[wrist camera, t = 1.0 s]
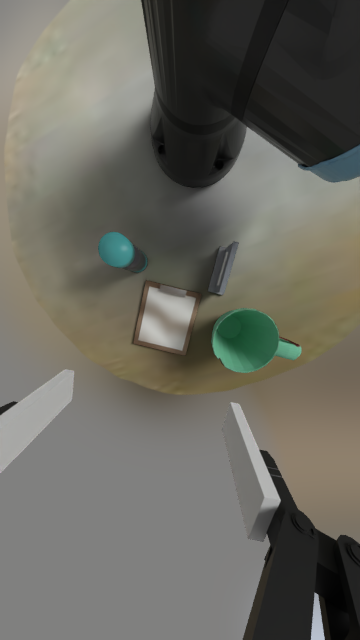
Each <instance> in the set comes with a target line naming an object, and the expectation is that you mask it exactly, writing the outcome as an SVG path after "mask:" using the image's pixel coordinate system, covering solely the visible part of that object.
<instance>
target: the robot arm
mask: <svg viewBox="0 0 360 640" xmlns="http://www.w3.org/2000/svg"><path fill="white" fill-rule="evenodd" d="M141 2H142V8H143V15H144V21H145V27H146V33H147V40H148V46H149V52H150V58H151V65H152V71H153V77H154V84H155V91H154V98H153V105H152V112H151V120H150V129H151V139H152V143H153V148H154V152H155V155H156V158H157V160H158V163H159V164H160V166H161V168H162V169H163V171H164V172H165V173H166V174H167V175H168V176H169V177H170V178H171V179H173V180H174V181H176V182H177V183H179V184H181V185H184V186H188V187H204V186H208V185H211V184H213V183H215V182H217V181H218V180H220V179H221V178H223V177H224V176H225V175H226V174H227V173H228V172H229V171H230V169H231V168H232V167H233V165H234V163H235V162H236V160H237V158H238V155H239V153H240V150H241V148H242V145H243V142H244V139H245V134H246V128H247V127H248V128H250V129H251V130H253V131H254V132H255V133H257V134H258V135H260V136H261V137H262V138H264V139H265V140H266V141H268V142H269V143H271V144H272V145H273V146H275V147H276V148H277V149H279V150H280V151H282V152H283V153H284V154H286V155H287V156H288V157H290V158H291V159H293V160H294V161H295V162H297V163H298V167H300V168H301V169H303V170H309V171H311V172H313V173H314V174H316V175H317V176H319V177H321V178H322V179H324V180H326V181H328V182H340V181H348V180H351V179H354V178H357V177H359V176H360V0H141ZM73 381H74V371H72V370H67V369H65V370H63V371H62V372H60V373H59V374H58V375H56V376H55V377H53V378H52V379H51V380H49V381H48V382H46V383H45V384H44V385H42V386H41V387H39V388H38V389H37V390H35V391H34V392H32V393H31V394H30V395H28V396H27V397H25V398H24V399H23V400H21V401H20V402H11V403H9V404H6V405H5V406H2V407H0V473H1V472H2V471H3V470H4V469H5V468H6V467H7V466H8V465H9V464H10V463H11V462H12V461H13V460H14V459H15V458H16V457H17V456H18V455H19V454H20V453H21V452H22V451H23V450H24V449H25V448H26V446H27V445H28V444H29V443H30V442H31V441H32V440H33V439H34V438H35V437H36V436H37V435H38V434H39V433H40V432H41V431H42V430H43V429H44V428H45V427H46V426H47V425H48V424H49V423H50V422H51V421H52V420H53V419H54V418H55V417H56V416H57V415H58V414H59V413H60V411H62V410H63V408H65V407H66V405H67V404H68V403H69V402H70V401H71V400H72V394H73ZM222 431H223V436H224V440H225V444H226V448H227V452H228V457H229V461H230V465H231V469H232V473H233V477H234V481H235V486H236V490H237V494H238V498H239V503H240V507H241V511H242V515H243V519H244V523H245V528H246V532H247V536H248V539H252V540H257V541H262V542H263V541H264V539H265V537H266V534H267V535H268V538H269V541H270V544H271V545H270V547H269V550H268V552H267V554H266V556H265V559H264V560H265V564H264V568H263V571H262V575H261V578H260V581H259V585H258V588H257V592H256V595H255V599H254V602H253V606H252V610H251V612H250V616H249V619H248V623H247V626H246V630H245V633H244V637H243V640H311V629H312V617H313V604H314V592H315V593H317V594H318V595H319V601H320V609H321V615H322V623H323V629H324V636H325V640H360V544H359V543H358V542H356V541H355V540H354V539H352V538H351V537H348V536H346V535H340V536H339V537H338V539H337V540H334V539H333V538H331V537H329V536H327V535H325V534H324V533H322V532H320V531H319V530H317V529H316V528H315V527H314V525H313V524H312V522H311V521H310V519H309V518H308V517H307V516H306V515H305V514H304V513H303V512H301V511H300V510H298V508H297V506H296V504H295V502H294V500H293V498H292V496H291V494H290V492H289V490H288V488H287V486H286V484H285V481H284V480H283V478H282V475H281V473H280V471H279V470H278V468H277V465H276V463H275V461H274V459H273V458H272V457H271V456H270V454H269V453H268V452H267V451H263V450H259V449H258V446H257V444H256V442H255V439H254V437H253V435H252V432H251V430H250V428H249V425H248V423H247V421H246V418H245V416H244V414H243V411H242V409H241V407H240V404H237V403H232V402H230V405H229V408H228V411H227V415H226V418H225V421H224V425H223V428H222Z"/></svg>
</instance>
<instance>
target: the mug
mask: <svg viewBox="0 0 360 640" xmlns="http://www.w3.org/2000/svg"><path fill="white" fill-rule="evenodd" d="M211 343H212V348H213V352H214V354H215V356H216V357H217V359H220V361H221V363H222V364H223V366H225V367H226V368H227V369H230V370H232V371H235V372H242V373H248V372H252V371H257V370H258V369H260V368H262V367H264V366H266V365H267V364H268V363H269V362H270V361H271V360H272V359H273V357H274V356H279V357H283V358H286V359H291V360H295V359H296V358H297V357H298V356H300V354H301V347H300V345H298V344H296V343H294V342H292V341H289V340H287V339H284V338H281V337H279V332H278V328H277V326H276V325H275V323H274V321H273V320H272V319H271V318H270V317H269V316H268V315H267V314H265V313H263V312H260V311H258V310H256V309H247V308H241V309H237V310H233V311H229V312H227V313H225V314H223V315H222V316H221V317H220V318H219V319H218V320H217V321H216V323H215V325H214V327H213V332H212V341H211Z"/></svg>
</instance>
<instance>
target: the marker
mask: <svg viewBox="0 0 360 640" xmlns="http://www.w3.org/2000/svg"><path fill="white" fill-rule="evenodd" d="M98 250H99V254H100V257H101V258H102V260H103V261H104V262H105V263H107V264H108V265H111V266H114V267H118V268H123V269H127V270H130V271H133V272H141V271H143V270H144V269H145V268H146V267H147V263H148V260H147V257H146V255H145V254H144V253H143V252H142V251H141V250H139V249H138V248H137V247H136V246H134V245H133V244H132V243H131V242H130V241H129V240H128V239H127V238H126V237H125V236H124V235H122V234H120V233H118V232H110V233H107V234H105V235H104V236H103V237H102V238H101V240H100V242H99V246H98Z"/></svg>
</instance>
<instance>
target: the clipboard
mask: <svg viewBox="0 0 360 640" xmlns="http://www.w3.org/2000/svg"><path fill="white" fill-rule="evenodd" d="M201 295H202V294H200V293H196V292H192V291H188V290H184V289H180V288H176V287H172V286H168V285H164V284H160V283H156V282H152V281H148V280H146V283H145V288H144V293H143V298H142V302H141V307H140V312H139V317H138V322H137V327H136V332H135V337H134V342H133V343H134V344H138V345H142V346H146V347H150V348H154V349H159V350H163V351H167V352H171V353H175V354H179V355H183V356H185V355H186V351H187V348H188V344H189V340H190V336H191V333H192V329H193V325H194V321H195V318H196V314H197V310H198V306H199V303H200V299H201Z"/></svg>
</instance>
